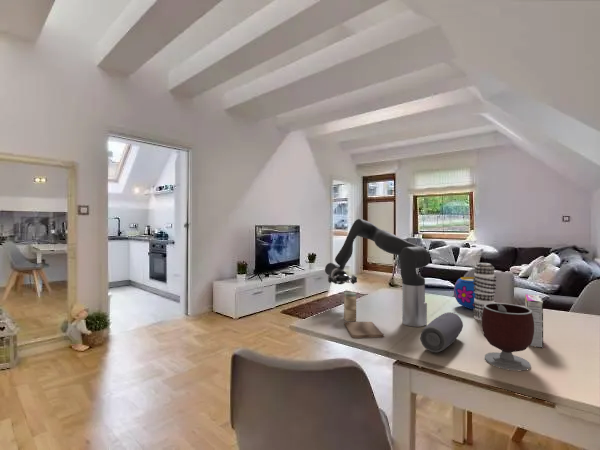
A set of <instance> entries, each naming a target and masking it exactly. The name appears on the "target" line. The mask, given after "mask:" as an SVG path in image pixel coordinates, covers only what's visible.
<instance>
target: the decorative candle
mask: <svg viewBox="0 0 600 450" xmlns="http://www.w3.org/2000/svg"><path fill="white" fill-rule="evenodd" d="M473 277H475V278H474V279H473V281H474V282H473V284H474V285H475V286H474V287H473V288H474V290H473V291H474V293H475V298H474V301H475V302H474V304H475V305H474V308H475V309H473V318H474V319H475V320H478V321H482V313H483V309H484V305H485V304H488V303H495V294H496V292H495V290H497V288H496V284H495V283H496V282H497V280H496V279H497V276H496V275H495V267H494V266H493V264H492V263H488V262H477V263H476V264H475V265H474V276H473Z"/></svg>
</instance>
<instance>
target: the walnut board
mask: <svg viewBox="0 0 600 450" xmlns="http://www.w3.org/2000/svg"><path fill="white" fill-rule="evenodd" d="M343 325H344V326H345V328H346V329H347V332H348V333H349V334H350V336H351V337H352V338H351V339H355V338H356V339H357V338H358V339H359V338H361V339H362V338H365V339H366V338H384V333H383V332H382V331H381V330H380V329H379V328H378V327H377V325H376V324H375V323H374V322H373V321H345V322H344V324H343Z"/></svg>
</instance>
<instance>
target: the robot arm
mask: <svg viewBox="0 0 600 450" xmlns="http://www.w3.org/2000/svg"><path fill="white" fill-rule="evenodd" d="M357 237H360V238H364V239H368V240H370V241H372V242H374V244H375V246H376V247H377V248H379V249H381V250H382V251H383V252H386V253H389V254H393V255H396V256H399V263H400V264H399V265H400V267H399V268H400V277H401V282H402V287H401V288H402V290H401V291H402V292H401V293H402V295H401V297H402V300H401V301H402V304H401V306H402V308H401V309H402V310H401V311H402V312H401V313H402V314H401V315H402V317H401V319H402V321H401V322H402V325H405V326H408V327H419V328H420V327H424V326H427V325H428V303H427V302H426V279H425V277H424V276H421V275H419V274H418V273H417V269H420V268H424V267H426V266H428V265H429V264H430V261H431V256H430V253H429V251H428V250H427V249H426V248H424V247H423V246H421V245H418V244H414V243H411V242H409V241H408V240H405V239H404V238H401V237H399V236H397V235H395V234H394V233H392V232H390V231H387V230H385V229H381V228H379V227H378V226H376V225H375V224H374V223H373V222H370V221H368V220H366V219H362V218H357V219H356V220H354V222H353V223H352V224H351V227H350V230H349V232H348V234H347V236H346V238H345V241H344V243H343V245H342V246H341V249H340V250H339V252H338V253H337V254H336V256H335V258H334V262H335V263H336V264H335V263H334V262H328V263H327V264H326V266H325V267H324V272H325V274H326V275H328V276H327V281H328V283H330V284H331V283H333V284H334V285H337V284H338V285H344V284H345V283H346V284H347V283H348V284H349V283H350V284H353V285H355V284H356V283H358V276H356V275H348V274H347V272H346V271H345V267H346V265H347V263H348V262H349V260H350V258H352V255H353V250H354V248H353V247H354V242H355V240H356V238H357Z"/></svg>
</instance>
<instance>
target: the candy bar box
mask: <svg viewBox="0 0 600 450" xmlns="http://www.w3.org/2000/svg"><path fill="white" fill-rule="evenodd" d="M524 301H525V303H524V307H526V308H528V309H530V310H532V315H533V319H534V336H533V340H532V343H531V345H530V346H529V347H532V346H536V347H535V348H539V347H542V348H541V349H544V301H543V298H542V296H541V295H537V294H526V293H525V296H524Z"/></svg>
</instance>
